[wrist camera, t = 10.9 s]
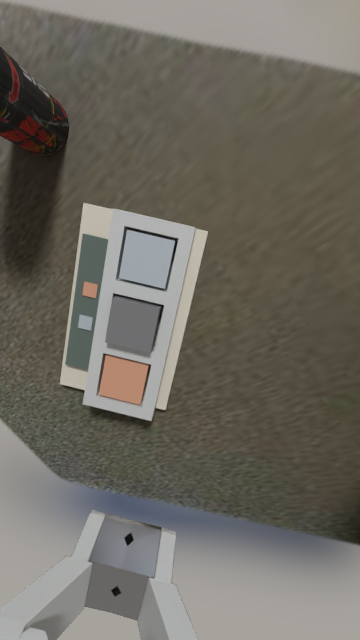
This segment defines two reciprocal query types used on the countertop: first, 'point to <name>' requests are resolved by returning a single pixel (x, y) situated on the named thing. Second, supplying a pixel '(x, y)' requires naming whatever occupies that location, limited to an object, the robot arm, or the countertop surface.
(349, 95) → the countertop surface
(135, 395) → the key terracotta
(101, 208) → the keypad
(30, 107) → the deodorant
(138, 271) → the key blue
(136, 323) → the key charcoal
